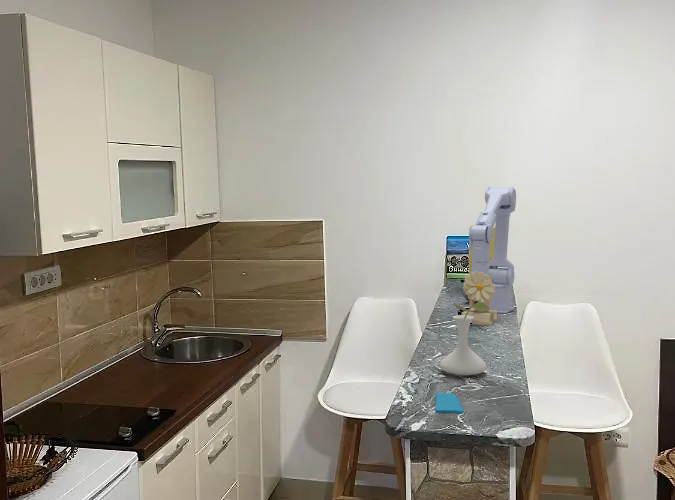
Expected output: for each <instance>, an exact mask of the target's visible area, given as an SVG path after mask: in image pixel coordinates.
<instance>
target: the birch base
mask: <svg viewBox="0 0 675 500" xmlns="http://www.w3.org/2000/svg"><path fill="white" fill-rule="evenodd" d="M468 310H469V309H467V312H468ZM467 312H466V311H462V312H461V315H466V313H467ZM467 315H468V316H473V317H474V319H473V320H472V321H471V323H472V324H471V325H476V324H477V325H479V326H485V325H486V327H487V326H490V325H492V324H494V323H496V322H497V321H498V313H497V311H496V310H488V311H485V312H478V311H477V310H476V309H475V308H471V310H470V311H469V313H468V314H467Z"/></svg>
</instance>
